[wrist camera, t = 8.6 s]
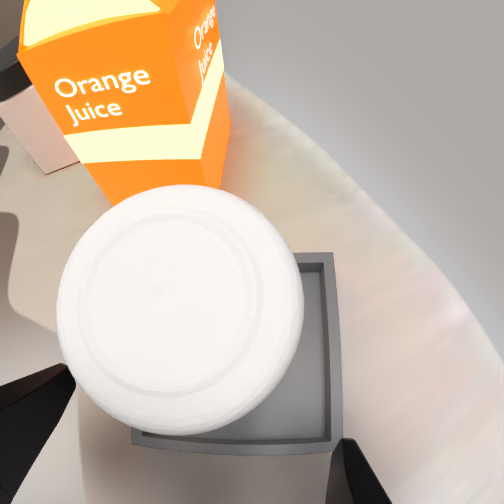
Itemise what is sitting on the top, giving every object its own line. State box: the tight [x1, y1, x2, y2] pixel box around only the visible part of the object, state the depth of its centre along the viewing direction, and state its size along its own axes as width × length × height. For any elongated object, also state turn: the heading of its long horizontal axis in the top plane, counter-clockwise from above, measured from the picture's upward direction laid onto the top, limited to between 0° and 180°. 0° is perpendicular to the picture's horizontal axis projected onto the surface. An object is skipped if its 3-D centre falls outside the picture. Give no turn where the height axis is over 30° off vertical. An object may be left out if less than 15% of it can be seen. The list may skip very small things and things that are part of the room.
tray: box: [132, 252, 343, 456], centre depth 17 cm, size 11×11×2 cm
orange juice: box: [17, 0, 231, 206], centre depth 15 cm, size 8×9×20 cm
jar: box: [0, 35, 80, 174], centre depth 21 cm, size 9×8×12 cm
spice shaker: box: [56, 185, 304, 435], centre depth 11 cm, size 5×5×13 cm
